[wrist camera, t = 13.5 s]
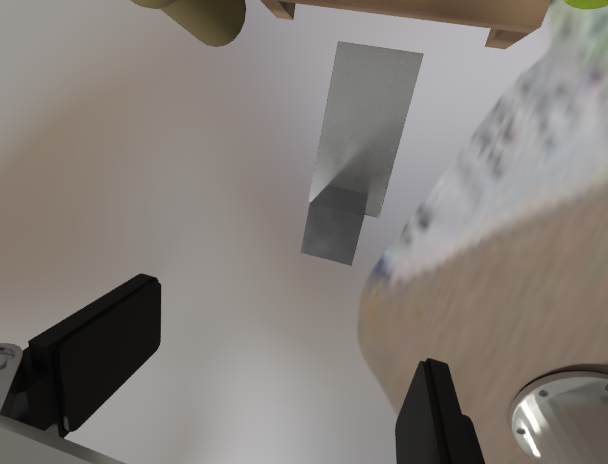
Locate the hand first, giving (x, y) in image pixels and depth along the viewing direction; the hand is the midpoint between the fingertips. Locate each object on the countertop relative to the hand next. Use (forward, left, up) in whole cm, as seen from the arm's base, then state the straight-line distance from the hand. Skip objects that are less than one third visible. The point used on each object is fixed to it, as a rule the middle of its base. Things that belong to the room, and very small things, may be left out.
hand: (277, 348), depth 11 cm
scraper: (+6, 0, -22) cm, 23 cm away
